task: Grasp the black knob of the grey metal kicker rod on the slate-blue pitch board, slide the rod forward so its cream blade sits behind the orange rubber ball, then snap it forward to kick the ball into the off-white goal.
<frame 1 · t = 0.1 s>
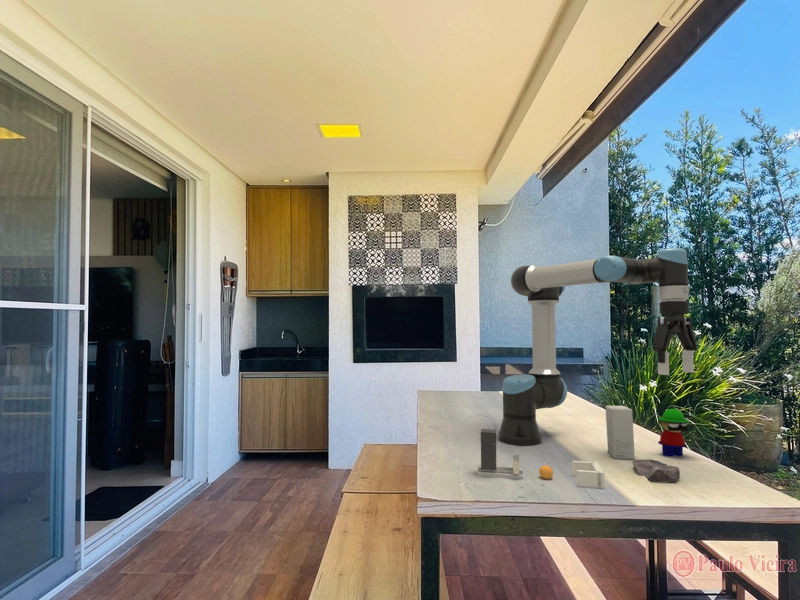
hand: (676, 373, 133), 28 cm above the table, fingers open, 13 cm apart
goal: (584, 485, 119), resting on pitch
rock: (655, 479, 125), on the table
skincare box: (620, 456, 147), on the table
kicker rod: (499, 452, 124), point 7 cm above the table, slide at 0.0 cm
pitch: (534, 481, 122), on the table
toy: (673, 456, 147), on the table
ball: (546, 472, 121), point 3 cm above the table, touching pitch
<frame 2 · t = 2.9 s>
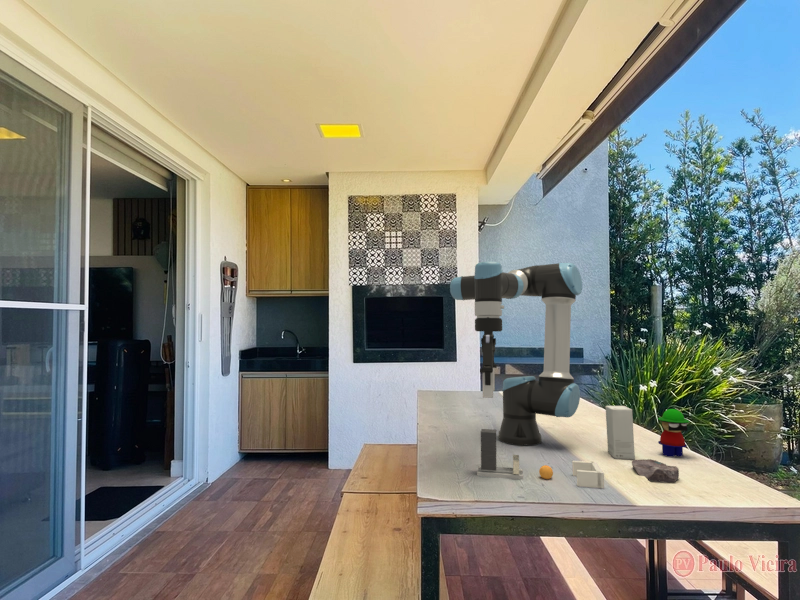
hand: (488, 394, 126), 23 cm above the table, fingers open, 13 cm apart
nothing on the table moved.
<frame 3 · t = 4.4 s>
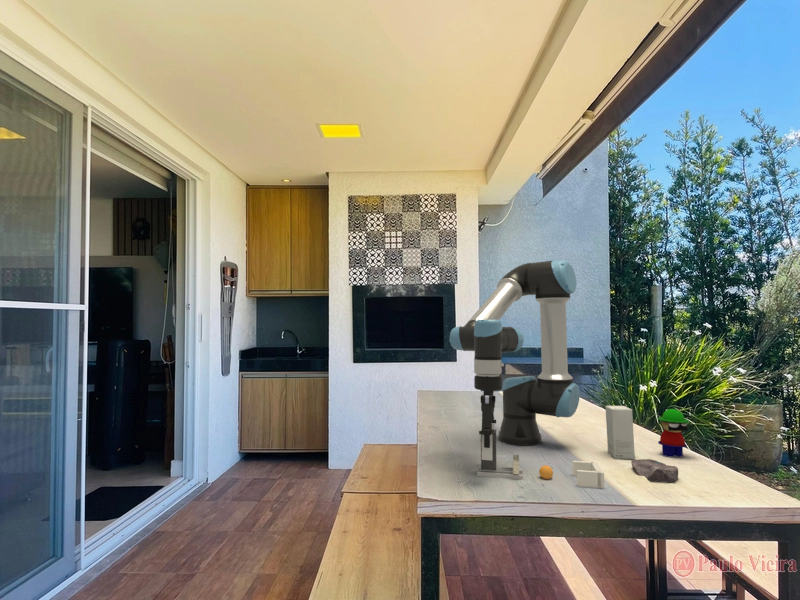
hand: (488, 453, 125), 7 cm above the table, fingers open, 13 cm apart
nothing on the table moved.
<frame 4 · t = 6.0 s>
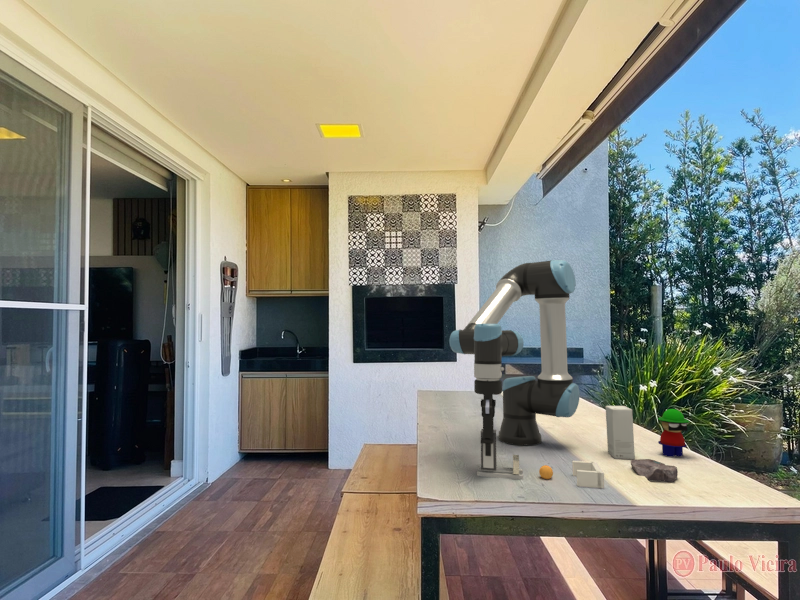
hand: (488, 464, 125), 4 cm above the table, fingers closed on kicker rod, 4 cm apart
kicker rod: (499, 452, 124), point 7 cm above the table, slide at 0.0 cm, touching gripper
everything else where it was.
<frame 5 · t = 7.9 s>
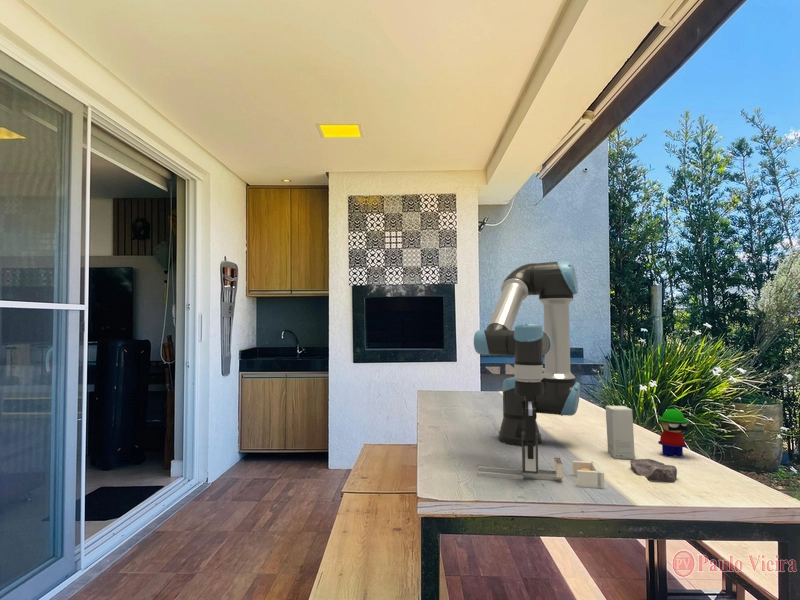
hand: (530, 467, 122), 4 cm above the table, fingers closed on kicker rod, 4 cm apart
kicker rod: (541, 455, 122), point 7 cm above the table, slide at 10.9 cm, touching gripper
ball: (585, 475, 119), point 3 cm above the table, tilted 44°, touching pitch
everything else where it was.
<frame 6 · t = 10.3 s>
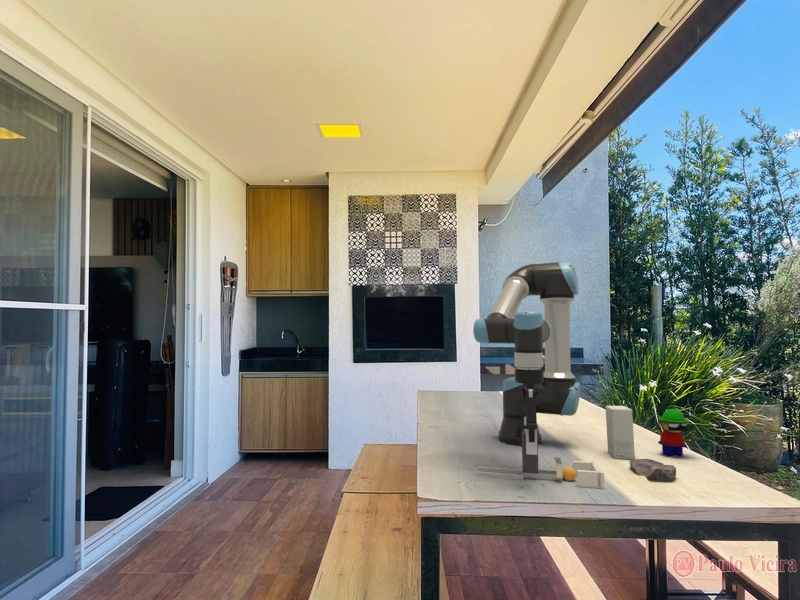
hand: (530, 446, 123), 9 cm above the table, fingers open, 13 cm apart
kicker rod: (541, 455, 122), point 7 cm above the table, slide at 10.9 cm
ball: (568, 473, 120), point 3 cm above the table, tilted 178°, touching pitch
everything else where it was.
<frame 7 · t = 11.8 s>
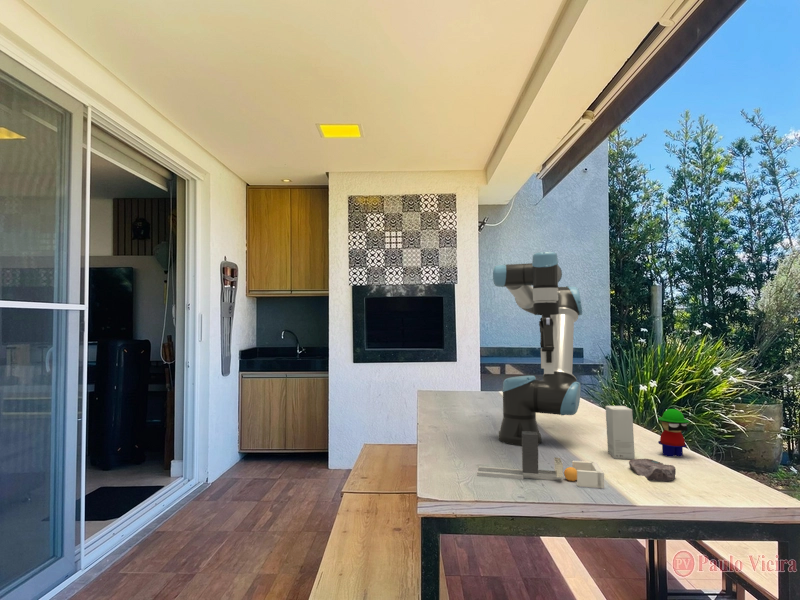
hand: (547, 371, 140), 28 cm above the table, fingers open, 13 cm apart
ball: (571, 474, 120), point 3 cm above the table, tilted 160°, touching pitch
everything else where it was.
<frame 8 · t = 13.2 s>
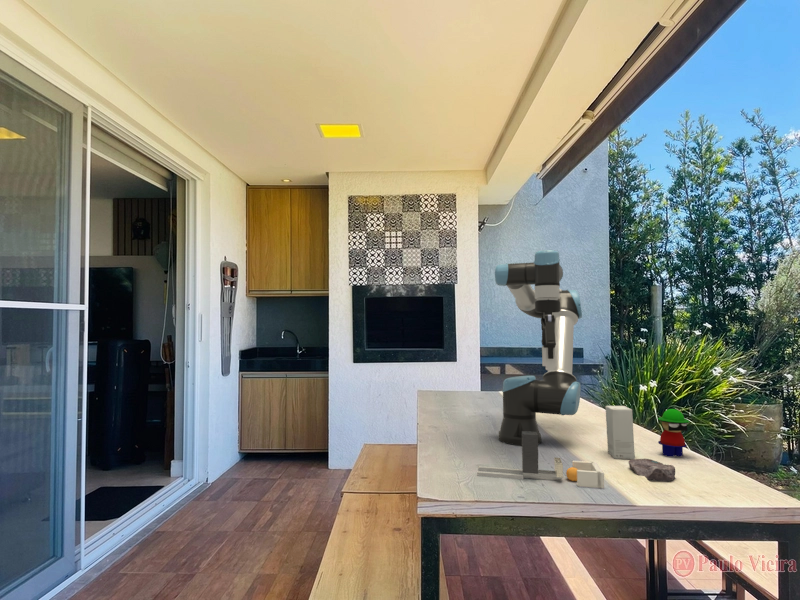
hand: (548, 368, 141), 29 cm above the table, fingers open, 13 cm apart
ball: (573, 474, 119), point 3 cm above the table, tilted 143°, touching pitch
everything else where it was.
at the end: ball 2.6 cm from the goal (horizontally); ball point 2.7 cm above the table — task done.
